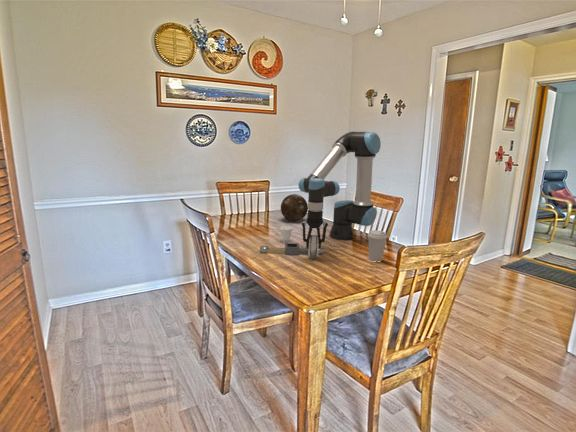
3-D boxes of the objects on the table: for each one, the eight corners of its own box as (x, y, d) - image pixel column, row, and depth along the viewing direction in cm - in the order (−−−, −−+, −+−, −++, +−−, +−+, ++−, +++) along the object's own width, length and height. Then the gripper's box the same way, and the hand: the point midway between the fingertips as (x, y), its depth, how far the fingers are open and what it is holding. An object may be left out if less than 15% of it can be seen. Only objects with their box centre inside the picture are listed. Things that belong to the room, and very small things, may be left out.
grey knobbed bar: (322, 251, 183) (323, 244, 183) (324, 255, 176) (324, 248, 175) (260, 249, 183) (260, 242, 182) (259, 253, 175) (259, 246, 174)
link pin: (316, 256, 174) (317, 234, 171) (316, 259, 170) (317, 236, 167) (309, 256, 174) (310, 234, 171) (309, 259, 170) (310, 236, 167)
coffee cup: (374, 265, 165) (377, 235, 162) (361, 258, 174) (364, 230, 170) (388, 262, 170) (391, 233, 166) (375, 256, 178) (378, 229, 175)
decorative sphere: (307, 224, 239) (309, 197, 234) (279, 223, 239) (280, 196, 234) (306, 218, 258) (307, 192, 254) (280, 217, 258) (281, 191, 254)
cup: (292, 242, 196) (293, 229, 195) (275, 243, 194) (276, 229, 193) (290, 239, 203) (290, 226, 201) (274, 239, 201) (274, 226, 199)
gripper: (330, 208, 170) (328, 252, 175) (298, 207, 170) (296, 251, 175) (333, 212, 163) (330, 257, 168) (298, 211, 162) (297, 256, 168)
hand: (313, 254), depth 172 cm, fingers closed on link pin, 4 cm apart
